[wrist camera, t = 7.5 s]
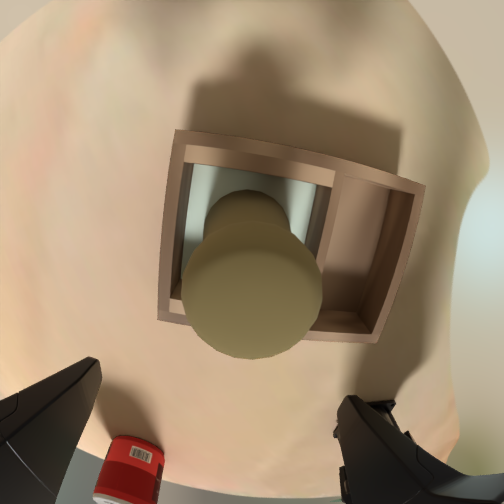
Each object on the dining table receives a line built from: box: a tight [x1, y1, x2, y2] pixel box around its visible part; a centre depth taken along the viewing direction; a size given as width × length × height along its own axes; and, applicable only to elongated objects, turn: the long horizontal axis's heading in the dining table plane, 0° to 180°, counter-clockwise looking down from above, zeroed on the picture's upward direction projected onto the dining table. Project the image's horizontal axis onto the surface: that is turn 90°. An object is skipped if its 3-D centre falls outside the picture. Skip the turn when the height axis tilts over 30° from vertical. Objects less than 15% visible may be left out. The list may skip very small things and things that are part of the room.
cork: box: [181, 189, 323, 360], centre depth 14 cm, size 6×6×11 cm
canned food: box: [93, 436, 165, 504], centre depth 23 cm, size 8×8×11 cm
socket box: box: [157, 129, 426, 343], centre depth 18 cm, size 16×12×4 cm
